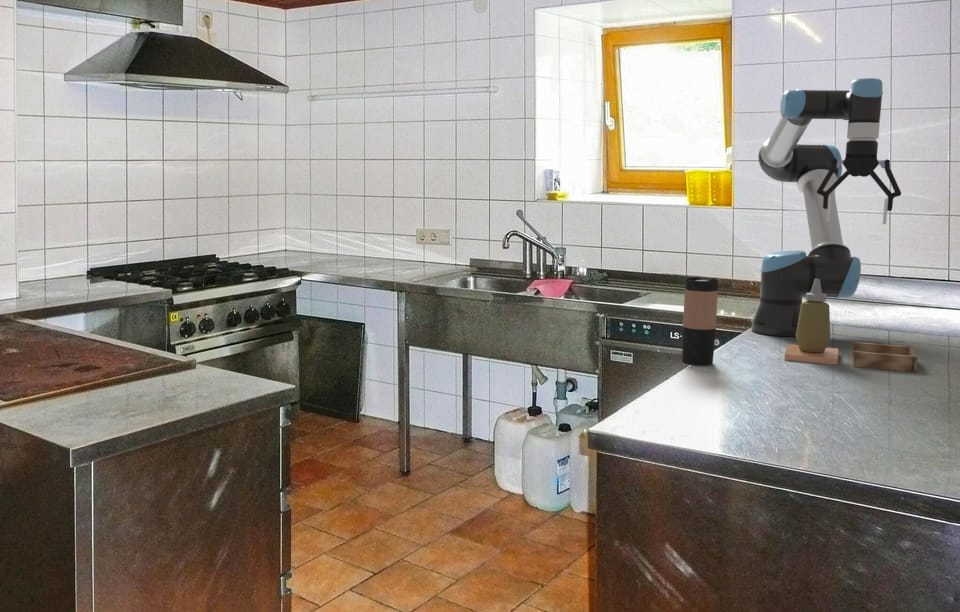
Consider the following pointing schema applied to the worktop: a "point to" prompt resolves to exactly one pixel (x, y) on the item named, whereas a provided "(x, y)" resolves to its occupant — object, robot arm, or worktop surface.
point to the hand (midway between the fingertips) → (855, 222)
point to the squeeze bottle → (814, 321)
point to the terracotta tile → (811, 355)
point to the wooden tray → (884, 356)
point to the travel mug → (699, 321)
